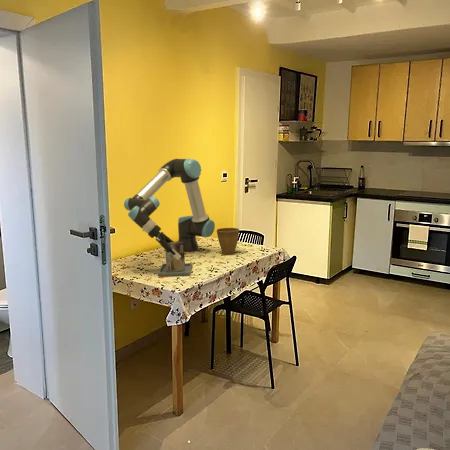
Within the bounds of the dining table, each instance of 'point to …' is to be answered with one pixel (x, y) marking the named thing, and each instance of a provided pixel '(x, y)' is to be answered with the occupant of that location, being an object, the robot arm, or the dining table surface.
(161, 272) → the tray
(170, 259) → the coffee box
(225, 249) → the plant pot
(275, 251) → the dining table surface
